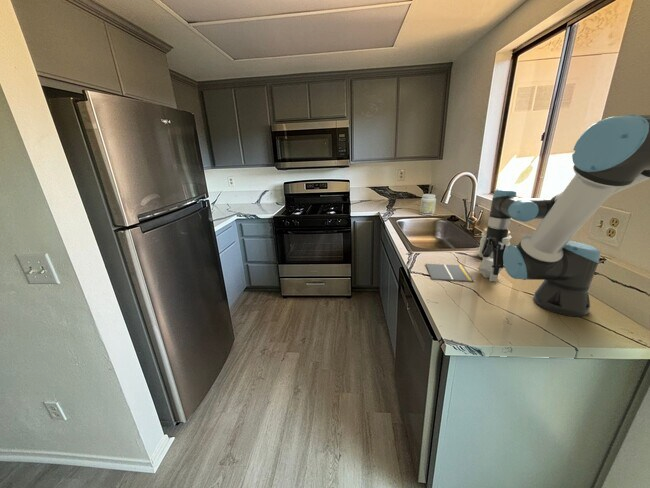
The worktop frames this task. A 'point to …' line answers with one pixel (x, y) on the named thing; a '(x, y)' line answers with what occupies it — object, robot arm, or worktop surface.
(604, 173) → the robot arm
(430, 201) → the supplement tub
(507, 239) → the jar
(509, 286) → the worktop surface
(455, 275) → the mat
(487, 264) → the die
